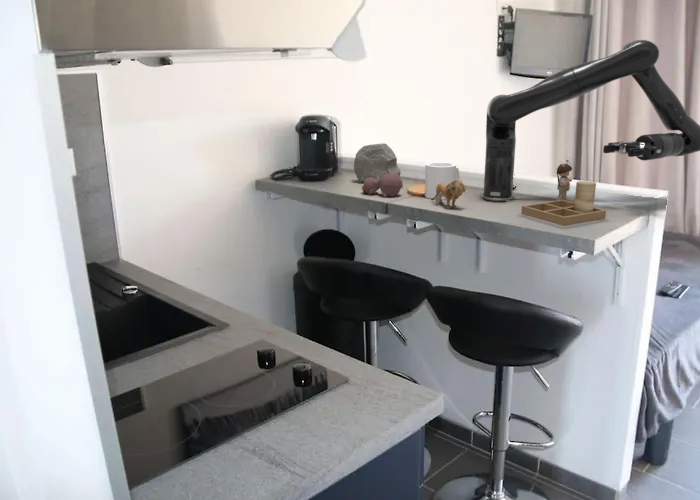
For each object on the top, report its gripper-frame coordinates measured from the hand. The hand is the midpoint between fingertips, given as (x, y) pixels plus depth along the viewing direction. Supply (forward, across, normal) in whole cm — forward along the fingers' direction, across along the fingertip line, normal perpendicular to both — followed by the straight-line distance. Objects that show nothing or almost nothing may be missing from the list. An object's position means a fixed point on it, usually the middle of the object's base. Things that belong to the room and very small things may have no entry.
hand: (616, 151), depth 181 cm
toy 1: (+42, -59, +18) cm, 75 cm away
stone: (+34, -77, +18) cm, 86 cm away
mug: (+26, -47, +18) cm, 57 cm away
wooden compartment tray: (+15, -4, +19) cm, 24 cm away
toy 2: (+1, -17, +19) cm, 26 cm away
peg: (+11, 0, +18) cm, 21 cm away
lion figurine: (+34, -34, +18) cm, 51 cm away
